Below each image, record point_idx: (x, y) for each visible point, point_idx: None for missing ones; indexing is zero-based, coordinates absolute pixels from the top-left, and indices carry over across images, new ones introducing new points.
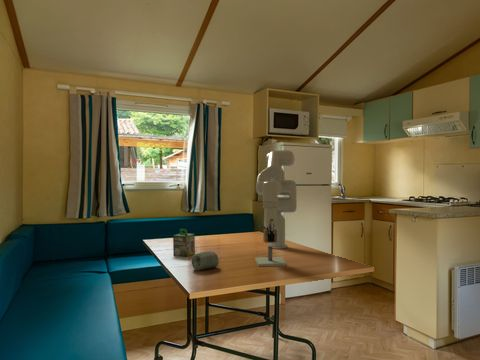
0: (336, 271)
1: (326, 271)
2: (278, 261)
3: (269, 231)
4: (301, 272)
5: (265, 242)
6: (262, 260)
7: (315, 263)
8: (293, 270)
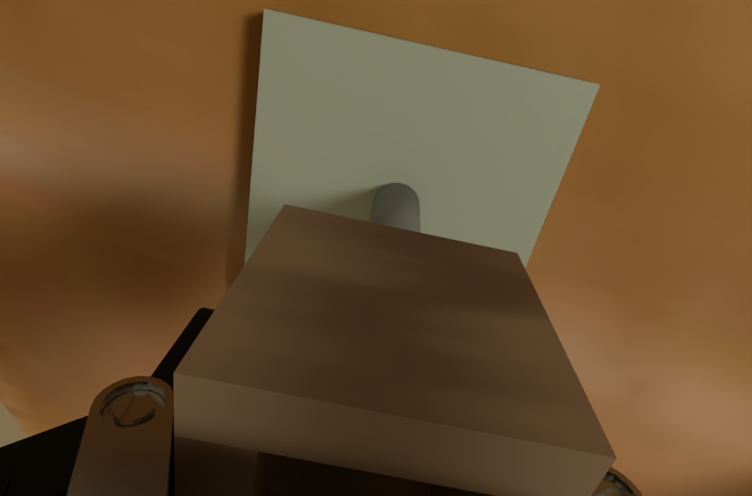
0: None
1: None
2: None
3: (87, 443)
4: (41, 303)
5: (281, 211)
6: (411, 119)
7: None
8: (98, 275)
